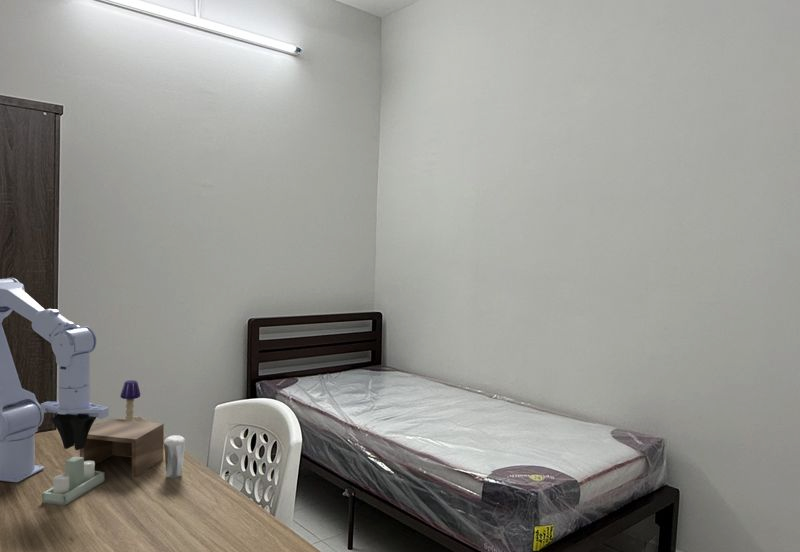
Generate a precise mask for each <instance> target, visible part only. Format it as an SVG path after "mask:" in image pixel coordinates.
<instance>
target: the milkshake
mask: <svg viewBox="0 0 800 552" xmlns="http://www.w3.org/2000/svg"><path fill="white" fill-rule="evenodd" d="M187 437H188V433H187V434H186V435H185V437H183V436H182V435H174V434H173V435H169V436H167V437H166V438H165V439H164V440H163V450H164V457H165V462H164V463H165V472H166V474H165V475H166V478H168V479H177V478H180V477H181V476H182V475H183V467H184V456H185V455H184V454H185V447H186V439H187Z"/></svg>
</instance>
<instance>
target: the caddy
mask: <svg viewBox="0 0 800 552" xmlns="http://www.w3.org/2000/svg"><path fill="white" fill-rule="evenodd" d="M95 467H96V465H95V462H94V461H84V458H83V457H80V456H72V457H70V458H67V459H66V460H65V474H59V475H56V476H54V477H53V481H52V482H53V485H52V487H50V488H49V489H47V490H45V491H44V492H42V493H41V495H42V496H41V501H42V504H49V505H58V506H63V507H64V506H65V505H67V504H70V503H71V502H72V501H74V500H75V499H77V498H79V497H81V496H82V495H84V494H85V493H87V492H89V491H91V490H92V489H94V488H95V487H97V486H99V485H100V484H102V483H104V482H105V476H106V475H105V474H106V473H105V471H98V470H96V469H95Z"/></svg>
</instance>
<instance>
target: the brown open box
mask: <svg viewBox="0 0 800 552" xmlns="http://www.w3.org/2000/svg"><path fill="white" fill-rule="evenodd" d="M164 425H165V424H164V423H160V422H151V421H141V420H140V421H139V420H126V419H121V418H109V419H107V420H104V421H103V422H100V423H99V424H97V425H95V426H93V427H92V426H91V428H90V430H89V433H88V436H87V439H86V443H85V447H84V448H82V449H80V450H79V457H83V458H84V461H94V462H95V466H96V465H97V464H99V463H101V462H102V461H104V460H106V459H108V458H110V457H112V456H116V457H118V456H119V457H125V458H131V477H132V478H137V477H139V476H140V475H142V474H143V473H145V472H146V471H147V470H149V469H151V468H152V467H153V466H155V465H156V464H158V463H159V462H161V461H162V460H164V438H165V437H164V432H165V431H164V428H165V427H164Z"/></svg>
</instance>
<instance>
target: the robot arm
mask: <svg viewBox="0 0 800 552" xmlns="http://www.w3.org/2000/svg"><path fill="white" fill-rule="evenodd" d="M13 311H14V312H15V313H17V314H19V315H20V316H22V317H24V318H25V319H27V320H29V321H30V322H31V329H32V330H33V331H34V332H35V333H36V334H38V335H39V336H41V337H42V338H43V339H45V340H46V341H47V342H49V344H50V346H51V349H52V352H53V354H54V356H55V363H56V365H57V366H58V401H44V402H42V403H39V402H38V399H37V398H36V395H35V393H33V392H31V391H30V390H26V389H25V388H22V384H21V381H20V379H19V374H18V372H17V368H16V366H15V362H14V359H13V355H12V352H11V349H10V347H9V343H8V339H7V336H6V334H5V330H4V327H3V324H2V323H3V320H4V319H5V318H7V317H8V316H10V314H11V313H12V312H13ZM96 346H97V336H96V334H95V332H94V330H92V329H91V327H89V326H87V325H83V326H80V325H76V324H75V323H74V322H73V321H70V320H69V319H68V318H66V316H64V315H63V314H61V312H60V310H59V309H56V308H54V309H53V308H46V309H45V308H44V307H43V306H42V305H41V304H39V303H38V302H37V301H36V300H35V299H34V298H33V297H32V296H30V295H29V294H28V293H27V292H26V290H25V285H24V283H21V282H20V281H19V280H18V279H16V278H15V277H7V278H0V481H2V482H10V483H19V482H21V481H23V480H25V479H27V478H29V477H31V476H32V475H35V474H36V473H38V472H41V471H43V470H44V469H45V466H43V465H36V463H35V462H36V461H35V460H36V458H35V457H36V456H35V455H36V453H35V452H36V449H35V447H36V442H35V436H36V435H35V434H36V433H37V432H38V431H39V427H41V426H42V423H43V421H44V419H45V414H46V413H51V414H55V416H53V417H52V418H51V422H52V424H53V425H54V427H55V428H56V430H57V432H58V433H59V436H60V438H61V441H62V445H63V448H64V450H67V449H70V448H72V447H74V450H75V451H80V449H82V448H84V447H85V443H86V439H87V436H88V433H89V430H90V428H92V426H93V424H94V423H95V421H96V419H97V418H98V419H101V420H102V419H105V418H106V417H109V406H103V405H99V404H96V403H92V402H90V400H91V396H90V395H91V394H90V393H91V390H90V389H91V380H90V379H91V377H90V376H91V369H90V368H91V366H90V365H91V364H90V363H91V359H90V358H91V355H90V354H91V353H92V352H93V351H94V350H95V349H96ZM12 405H13V406H12Z"/></svg>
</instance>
